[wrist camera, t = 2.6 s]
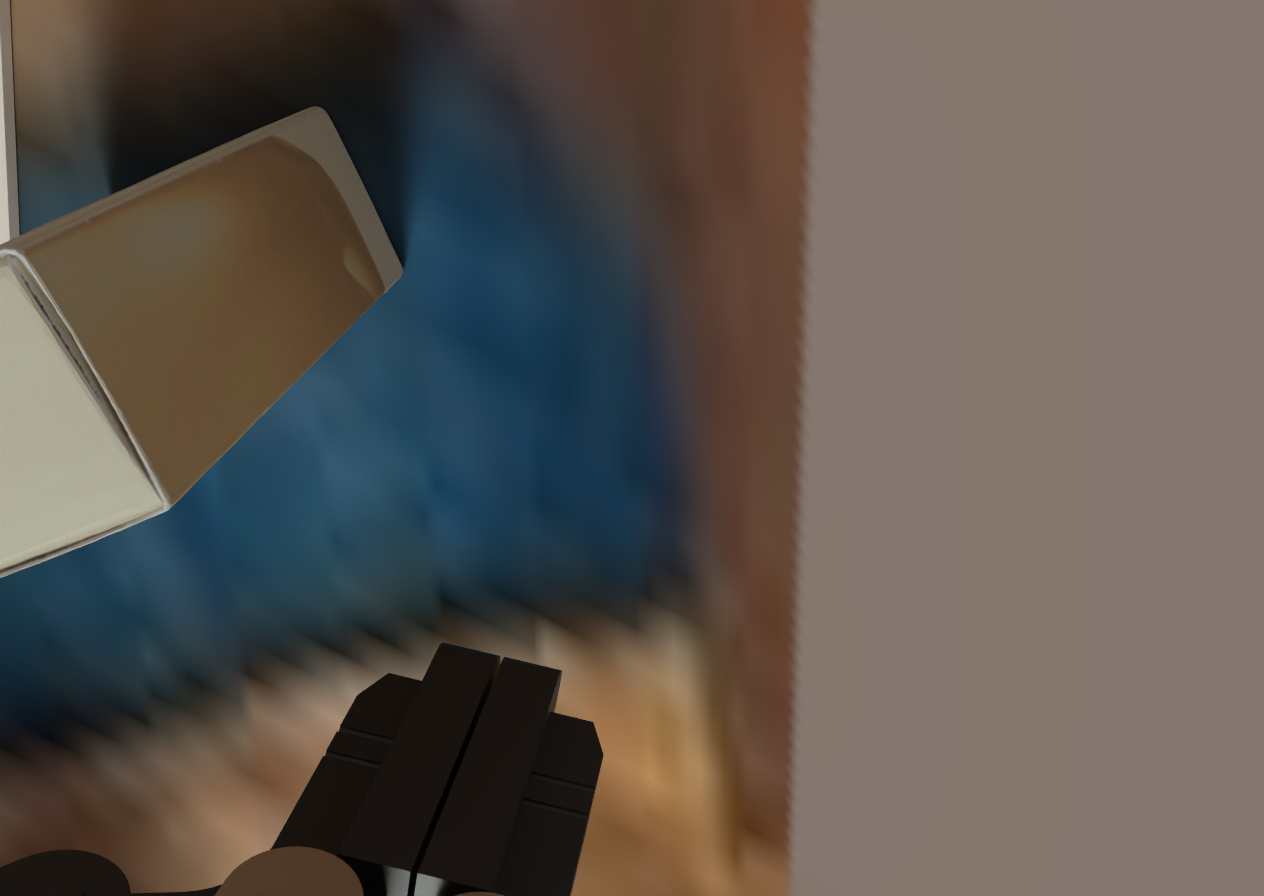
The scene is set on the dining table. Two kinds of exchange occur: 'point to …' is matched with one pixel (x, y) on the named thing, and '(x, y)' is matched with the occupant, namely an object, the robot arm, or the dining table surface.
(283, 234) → the skincare box
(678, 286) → the dining table surface
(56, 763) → the dining table surface
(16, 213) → the mat
